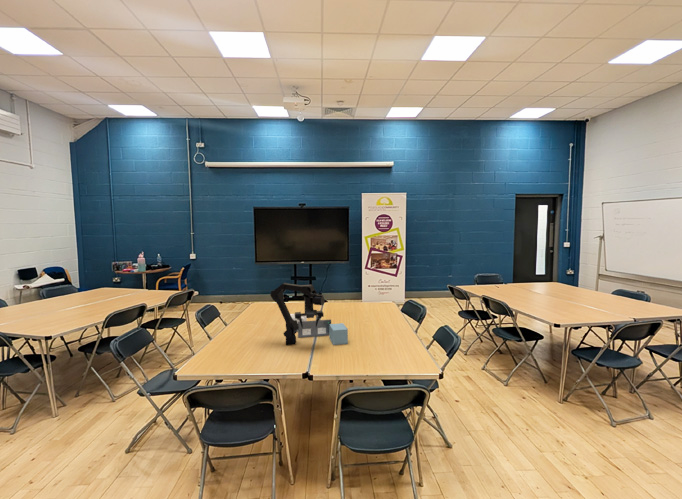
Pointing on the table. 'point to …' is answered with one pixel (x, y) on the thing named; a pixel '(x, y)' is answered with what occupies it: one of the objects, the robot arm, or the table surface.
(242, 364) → the table surface
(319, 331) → the dark grey case
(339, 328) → the pale blue box
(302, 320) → the cable organizer
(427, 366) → the table surface
